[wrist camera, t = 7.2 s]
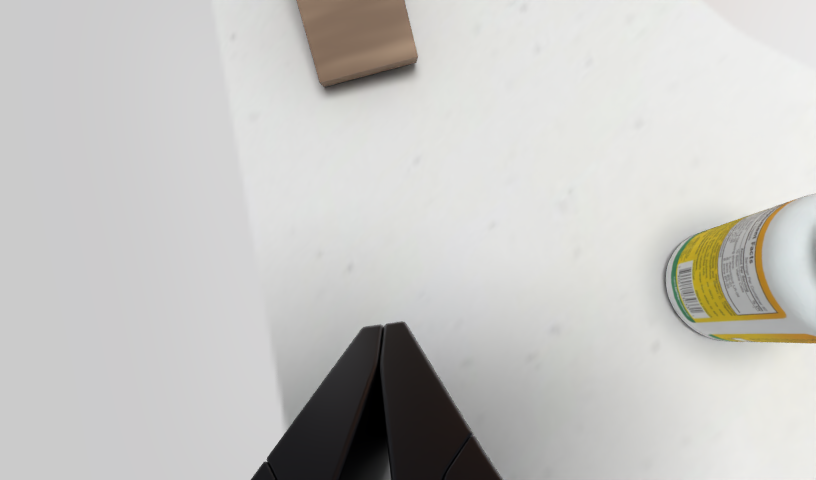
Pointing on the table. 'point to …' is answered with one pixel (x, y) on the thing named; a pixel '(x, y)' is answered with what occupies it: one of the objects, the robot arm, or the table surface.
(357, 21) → the domino
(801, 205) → the supplement bottle
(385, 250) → the table surface
